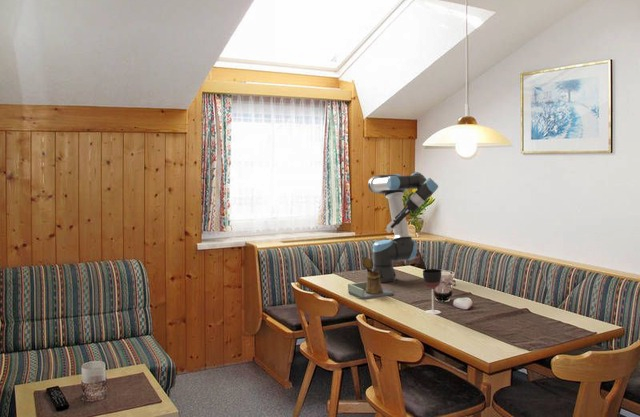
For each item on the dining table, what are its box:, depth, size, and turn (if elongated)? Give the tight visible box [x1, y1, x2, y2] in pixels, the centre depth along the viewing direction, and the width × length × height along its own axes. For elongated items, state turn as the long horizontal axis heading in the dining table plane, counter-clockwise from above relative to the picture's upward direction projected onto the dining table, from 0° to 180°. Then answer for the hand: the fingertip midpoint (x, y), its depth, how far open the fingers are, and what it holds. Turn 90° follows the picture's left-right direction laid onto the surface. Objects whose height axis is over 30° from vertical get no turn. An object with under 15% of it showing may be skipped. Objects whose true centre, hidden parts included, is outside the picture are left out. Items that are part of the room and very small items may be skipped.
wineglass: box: [422, 268, 442, 315], centre depth 286 cm, size 8×9×20 cm
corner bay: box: [347, 281, 394, 300], centre depth 326 cm, size 19×16×5 cm
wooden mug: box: [362, 256, 383, 294], centre depth 326 cm, size 9×14×18 cm, turn 23°
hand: (387, 229), depth 332 cm, fingers open, 13 cm apart
